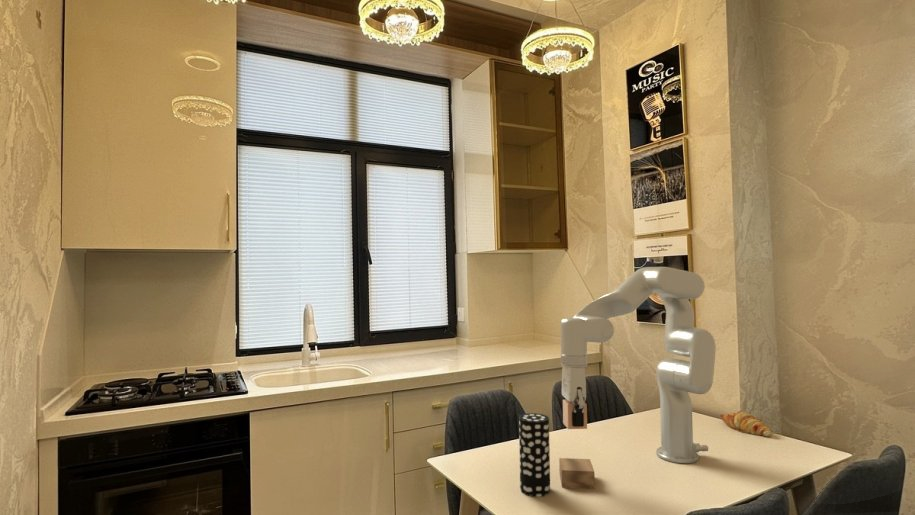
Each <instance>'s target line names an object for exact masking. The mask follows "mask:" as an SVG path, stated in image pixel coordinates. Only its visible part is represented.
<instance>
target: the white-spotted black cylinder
mask: <svg viewBox="0 0 915 515" xmlns="http://www.w3.org/2000/svg"><path fill="white" fill-rule="evenodd" d="M518 422H519V423H518V428H519V429H518V430H519V431H518V435H519V437H518V439H519V490H520V492H521V493H522V494H524V495H526V496H530V497H536V498H537V497H545V496H547V495H549V494H550V492H551V464H550V463H551V460H550V459H551V458H550V455H551V454H550V452H551V451H550V417H549V416H547V415H546V414H543V413H542V414H541V413H534V412H533V413H532V412H529V413H523V414H519V416H518Z"/></svg>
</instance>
